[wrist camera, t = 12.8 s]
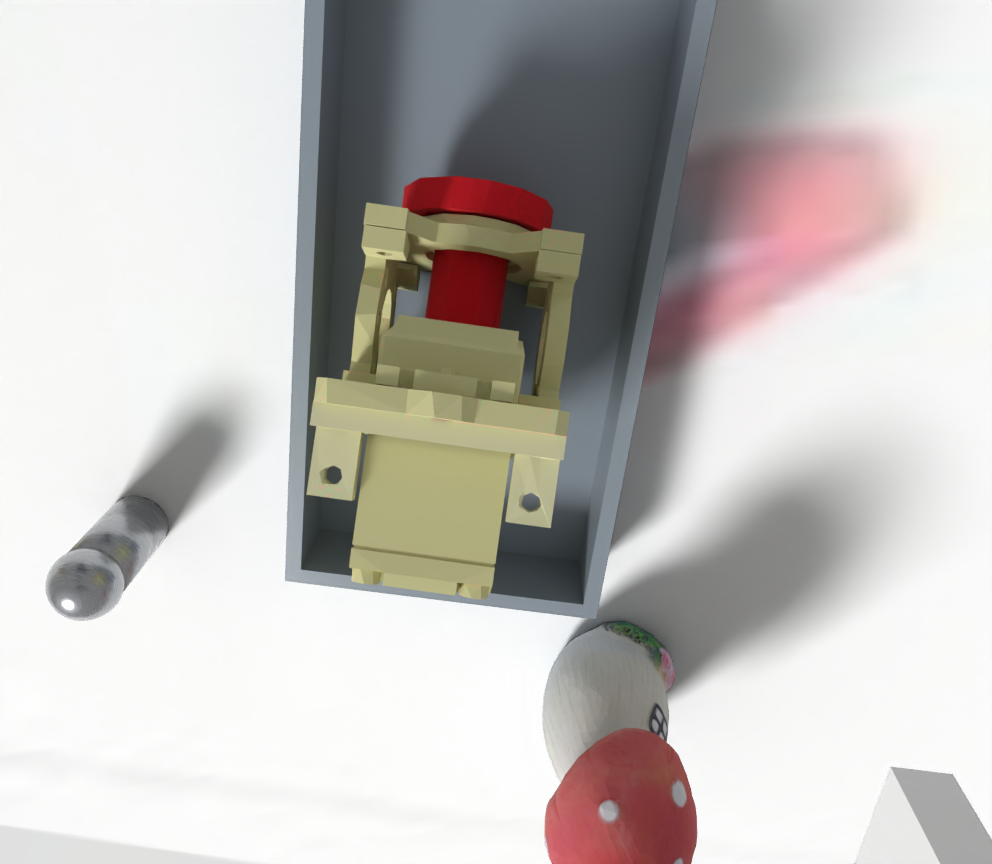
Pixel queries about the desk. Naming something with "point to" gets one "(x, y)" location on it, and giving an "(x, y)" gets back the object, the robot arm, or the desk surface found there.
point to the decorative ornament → (615, 754)
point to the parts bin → (517, 162)
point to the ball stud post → (106, 559)
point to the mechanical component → (448, 385)
